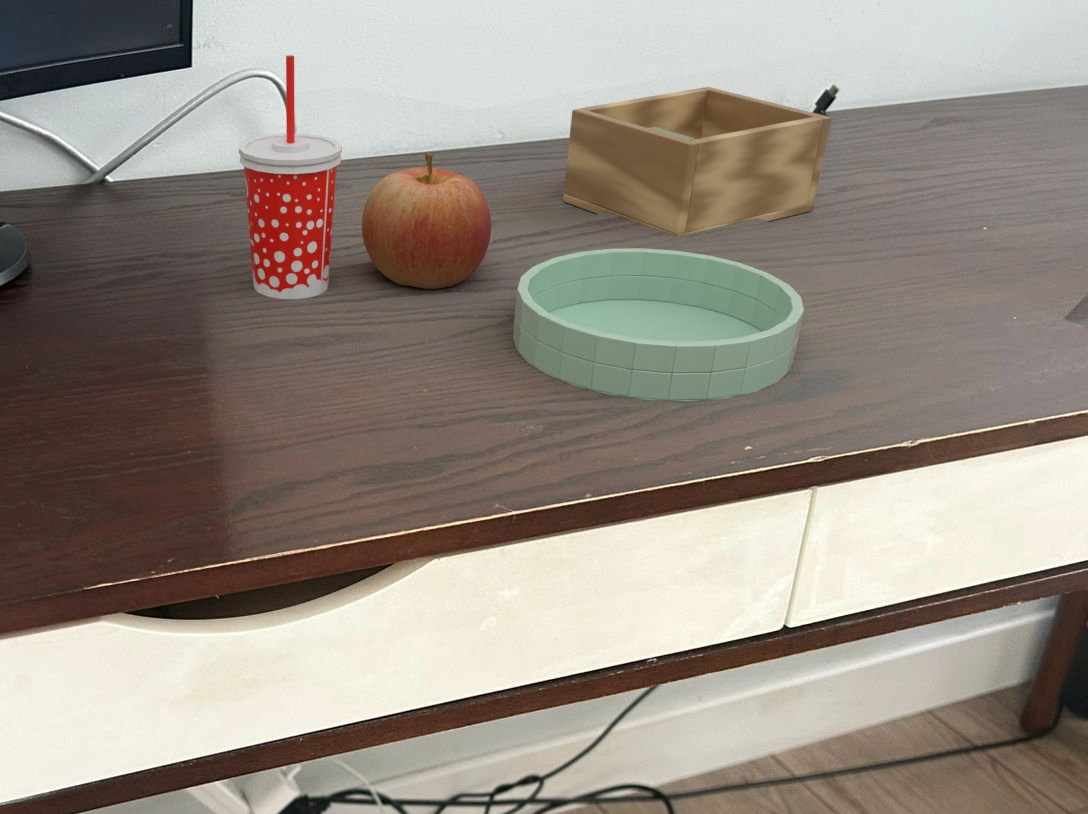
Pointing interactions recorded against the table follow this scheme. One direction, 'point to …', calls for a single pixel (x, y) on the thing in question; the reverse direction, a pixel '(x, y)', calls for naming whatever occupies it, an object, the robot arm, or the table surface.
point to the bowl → (657, 324)
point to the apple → (426, 227)
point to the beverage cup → (290, 206)
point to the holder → (695, 160)
